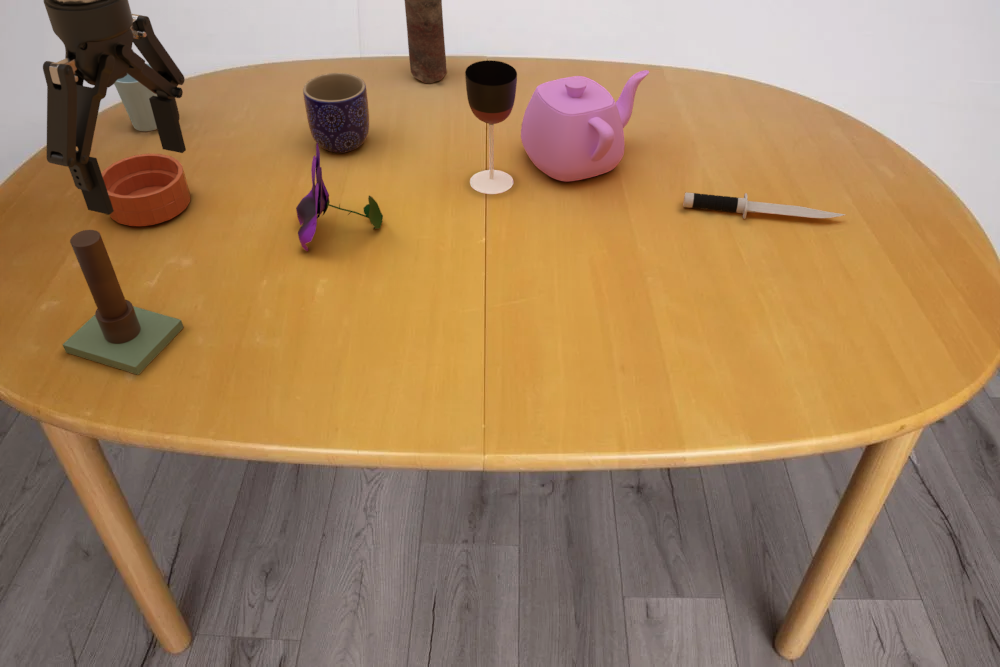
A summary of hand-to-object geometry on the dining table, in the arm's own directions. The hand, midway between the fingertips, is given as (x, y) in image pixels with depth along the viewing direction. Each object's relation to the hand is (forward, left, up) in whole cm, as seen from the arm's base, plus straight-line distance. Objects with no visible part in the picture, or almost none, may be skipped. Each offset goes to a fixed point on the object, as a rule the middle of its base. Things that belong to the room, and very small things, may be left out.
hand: (139, 178), depth 99 cm
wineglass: (+22, +54, -29) cm, 65 cm away
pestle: (-11, -1, -27) cm, 29 cm away
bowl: (-28, +27, -29) cm, 49 cm away
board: (-11, -1, -29) cm, 31 cm away
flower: (+5, +32, -29) cm, 44 cm away
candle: (-5, +86, -29) cm, 91 cm away
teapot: (+33, +66, -29) cm, 79 cm away
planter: (-8, +56, -29) cm, 64 cm away
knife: (+67, +61, -29) cm, 95 cm away
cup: (-45, +49, -29) cm, 73 cm away
